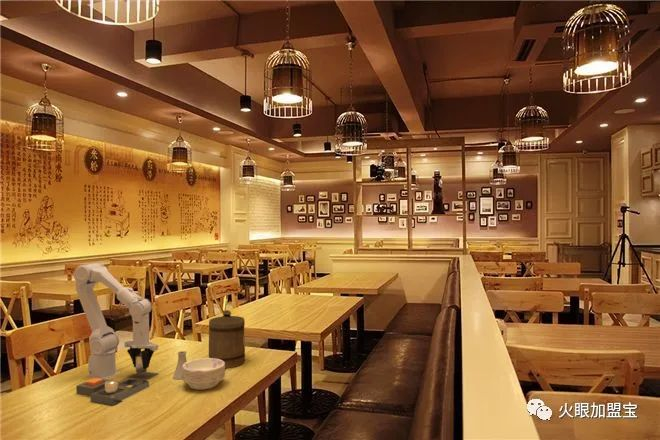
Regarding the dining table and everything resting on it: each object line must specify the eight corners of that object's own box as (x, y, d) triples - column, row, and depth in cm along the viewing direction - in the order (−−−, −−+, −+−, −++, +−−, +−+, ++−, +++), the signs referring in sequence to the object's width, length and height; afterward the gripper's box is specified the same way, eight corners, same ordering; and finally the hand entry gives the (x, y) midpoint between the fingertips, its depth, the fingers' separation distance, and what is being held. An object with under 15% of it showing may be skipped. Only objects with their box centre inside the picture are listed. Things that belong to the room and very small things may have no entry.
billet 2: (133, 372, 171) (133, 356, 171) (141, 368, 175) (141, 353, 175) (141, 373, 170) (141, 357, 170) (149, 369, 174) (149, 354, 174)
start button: (86, 390, 159) (85, 381, 159) (95, 386, 162) (95, 377, 162) (94, 391, 157) (94, 382, 157) (103, 387, 161) (103, 379, 161)
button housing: (76, 394, 157) (76, 385, 157) (95, 385, 165) (95, 377, 165) (93, 397, 155) (93, 388, 155) (112, 388, 162) (112, 380, 162)
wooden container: (252, 360, 192) (251, 309, 191) (226, 371, 179) (226, 316, 179) (227, 355, 200) (226, 305, 199) (201, 364, 187) (200, 312, 187)
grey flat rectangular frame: (90, 401, 151) (90, 394, 151) (127, 384, 166) (127, 377, 166) (113, 405, 148) (113, 398, 148) (149, 387, 163) (149, 381, 162)
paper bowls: (233, 381, 169) (233, 360, 169) (206, 396, 155) (206, 373, 155) (201, 375, 175) (201, 354, 175) (172, 389, 161) (172, 367, 161)
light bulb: (102, 400, 152) (102, 382, 152) (111, 396, 156) (111, 378, 156) (111, 402, 150) (111, 384, 150) (120, 397, 154) (120, 380, 154)
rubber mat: (123, 380, 170) (123, 378, 170) (141, 372, 178) (141, 371, 178) (142, 383, 167) (142, 381, 167) (159, 375, 175) (159, 373, 175)
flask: (186, 382, 168) (185, 355, 168) (168, 381, 169) (168, 354, 169) (195, 375, 175) (195, 349, 175) (178, 374, 176) (178, 348, 176)
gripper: (118, 332, 171) (118, 368, 171) (148, 336, 166) (148, 373, 166) (132, 328, 178) (132, 362, 178) (161, 331, 173) (162, 366, 173)
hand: (141, 367), depth 173 cm, fingers closed on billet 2, 4 cm apart
